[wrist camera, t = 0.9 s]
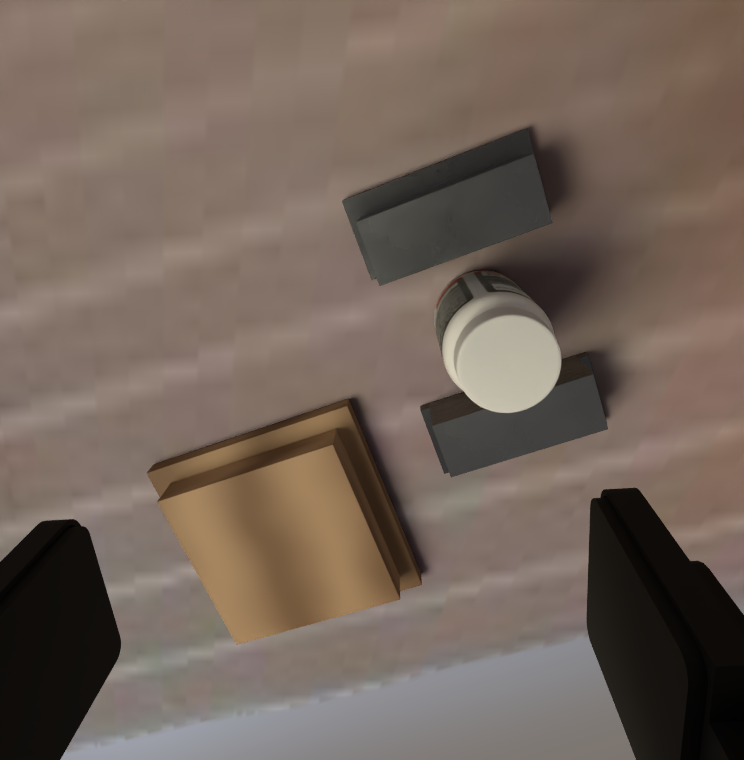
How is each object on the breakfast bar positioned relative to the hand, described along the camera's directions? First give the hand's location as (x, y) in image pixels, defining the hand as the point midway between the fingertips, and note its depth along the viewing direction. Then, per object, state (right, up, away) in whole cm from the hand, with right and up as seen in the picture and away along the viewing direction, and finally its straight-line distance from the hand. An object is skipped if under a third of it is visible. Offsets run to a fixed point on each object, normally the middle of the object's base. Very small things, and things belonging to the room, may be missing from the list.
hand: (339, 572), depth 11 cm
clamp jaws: (+6, +7, +20) cm, 22 cm away
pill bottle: (+6, +7, +20) cm, 22 cm away
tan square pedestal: (-4, -5, +24) cm, 25 cm away
